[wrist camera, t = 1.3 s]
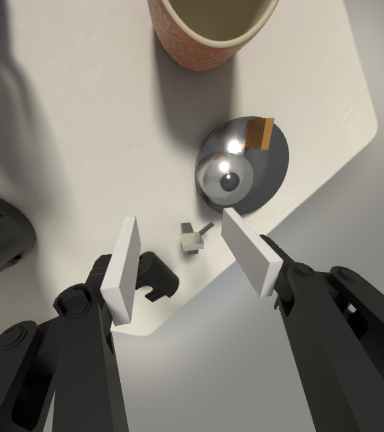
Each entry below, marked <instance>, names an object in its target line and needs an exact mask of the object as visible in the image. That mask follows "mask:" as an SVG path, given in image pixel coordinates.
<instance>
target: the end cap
mask: <svg viewBox="0 0 384 432" xmlns="http://www.w3.org/2000/svg"><path fill="white" fill-rule="evenodd" d="M143 286H151V287H152V288H153V290H152V291H151V292H150V293H148V294H146V295H145V297H146V298H147V299H149V300H150V301H151V302H154V301H156V300H158V299H159V298H161V297H163V296H165V295H166V296H168V297H169V298H170V297H171V296H172V295H174V293H175V292H176V291H177V289H178V286H179V278H178V277H177V276H176V275H175V274H174V273H173V272H172V271H171V270H170V269H169V268H168V267H167V266H166V265H165V264H164V263H163V262H162V261H161V260H160V259H159V258H158V257H157V256H156V255H155V254H154V253H153V252H150V251H149V252H145V253H143V254H142V255H140V256H139V264H138V271H137V278H136V286H135V290H137V289H139V288H141V287H143Z"/></svg>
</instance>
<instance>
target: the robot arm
mask: <svg viewBox="0 0 384 432" xmlns="http://www.w3.org/2000/svg"><path fill="white" fill-rule="evenodd" d="M221 235H222V237H223V239H224V240H225V242H226V243H227V245H228V247H229V248H230V250H231V252H232V253H233V255H234V256H235V258H236V260H237V261H238V263H239V264H240V266H241V268H242V270H243V271H244V273H245V274H246V276H247V278H248V279H249V281H250V283H251V284H252V286H253V287H254V289H255V291H256V292H257V294H258V296H259V297H260V298H262V297H267V296H271V295H272V292H273V290H274V289H275V291H276V292H277V293H278V296H277V299H276V302H275V305H274V309H275V310H276V309H277V306H278V305H279V310H280V312H281V315H282V318H283V322H284V325H285V329H286V332H287V335H288V338H289V342H290V345H291V349H292V352H293V355H294V359H295V362H296V365H297V369H298V372H299V375H300V379H301V382H302V386H303V389H304V392H305V396H306V399H307V402H308V406H309V409H310V412H311V416H312V419H313V423H314V426H315V429H316V432H384V295H383V294H382V293H381V292H380V291H378V290H377V289H376V288H375V287H373V286H372V285H371V284H370V283H369V282H367V281H366V280H365V279H364V278H362V277H361V276H360V275H359V274H357V273H356V272H354V271H352V270H350V269H348V268H345V267H340V266H335V267H332V268H331V270H330V272H329V273H326V272H317V271H314V270H313V269H312V268H311V267H309V266H308V265H305V264H303V263H299V262H294V261H293V260H292V259H291V258H290V257H289V256H288V255H287V254H286V253H285V252H284V251H283V250H282V249H281V248H279V246H278V245H277V244H275V242H274V241H272V240H271V239H270V238H269V237H267V236H265V235H263V234H262V235H258V234H257V233H256V232H255V231H254V230H253V229H252V228H251V227H250V226H249V225H248V224H247V223H246V221H245V220H244V219H243V218H242V217H241V216H240V215H239V214H238V213H237V212H236V211H235V210H234V209H233V208H232V207H231V208H224V209H223V220H222V231H221ZM34 244H35V233H34V230H33V227H32V225H31V224H30V222H29V221H28V219H27V218H26V217H25V216H24V215H23V214H22V213H21V212H20V211H19V210H17V209H16V208H15V207H13V206H12V205H10V204H9V203H7V202H5V201H4V200H2V199H0V272H1V271H3V270H5V269H7V268H9V267H11V266H13V265H15V264H17V263H18V262H19V261H21V260H22V259H23V258H24V257H25V256H26V255H27V254H28V253H29V252H30V251H31V250H32V248H33V246H34ZM140 249H141V242H140V236H139V231H138V226H137V221H136V216H135V217H125V220H124V223H123V226H122V229H121V231H120V234H119V237H118V240H117V243H116V246H115V248H114V251H113V254H108V255H101V256H100V257H99V258H98V259H97V260H96V261H95V263H94V265H93V268H92V270H91V272H90V274H89V276H88V278H87V280H86V283H85V284H84V283H80V284H76V285H73V286H71V287H69V288H67V289H66V290H64V291H63V292H62V293H60V294H59V296H58V297H57V298H56V299H55V301H54V304H53V307H54V308H55V310H56V311H57V313H58V314H59V316H58V317H56V318H54V319H51V320H49V321H47V322H44V323H42V324H40V325H37V324H36V322H34V321H31V320H30V321H23V322H20V323H18V324H15V325H13V326H12V327H10V328H9V329H7V330H5V331H4V332H3V333H2V334H1V335H0V432H43V428H44V425H45V422H46V419H47V415H48V412H49V408H50V404H51V401H52V398H53V395H54V391H55V402H54V413H53V426H52V432H129V429H128V424H127V418H126V412H125V407H124V401H123V395H122V389H121V383H120V378H119V372H118V366H117V360H116V355H115V349H114V343H113V337H112V333H111V331H110V328H111V324H112V320H113V323H114V325H115V326H117V325H123V324H128V323H131V316H132V308H133V301H134V293H135V286H136V278H137V271H138V264H139V256H140ZM350 304H352V305H353V306H354V307H355V308H356V309H357V310H356V311H355V312H354V313H353V312H351V311H350V310H349V309H348V307H349V305H350Z"/></svg>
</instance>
